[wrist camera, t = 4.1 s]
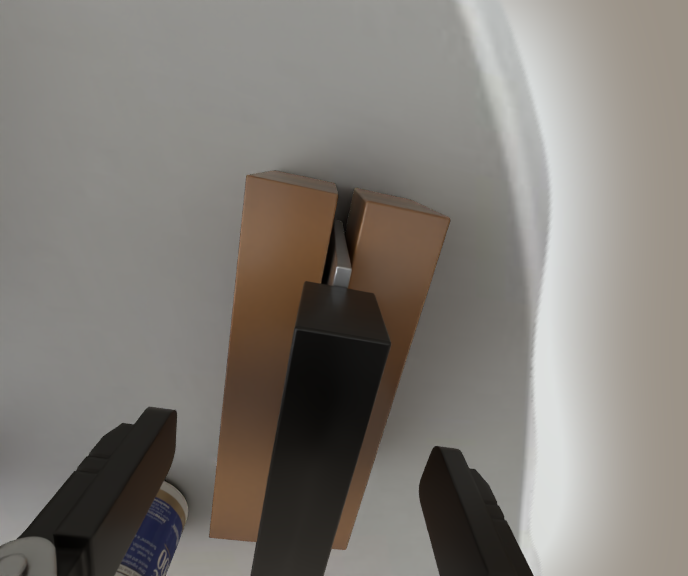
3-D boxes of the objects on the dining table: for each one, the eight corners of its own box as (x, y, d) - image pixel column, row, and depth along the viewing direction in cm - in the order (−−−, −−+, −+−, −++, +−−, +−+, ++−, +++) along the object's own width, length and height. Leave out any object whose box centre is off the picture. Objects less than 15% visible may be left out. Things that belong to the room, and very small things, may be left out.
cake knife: (317, 215, 15) (298, 300, 6) (358, 224, 15) (400, 318, 6) (279, 429, 19) (233, 672, 10) (311, 433, 19) (294, 676, 10)
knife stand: (273, 170, 14) (245, 174, 9) (412, 200, 14) (452, 218, 10) (238, 445, 19) (208, 538, 14) (342, 458, 20) (346, 551, 15)
